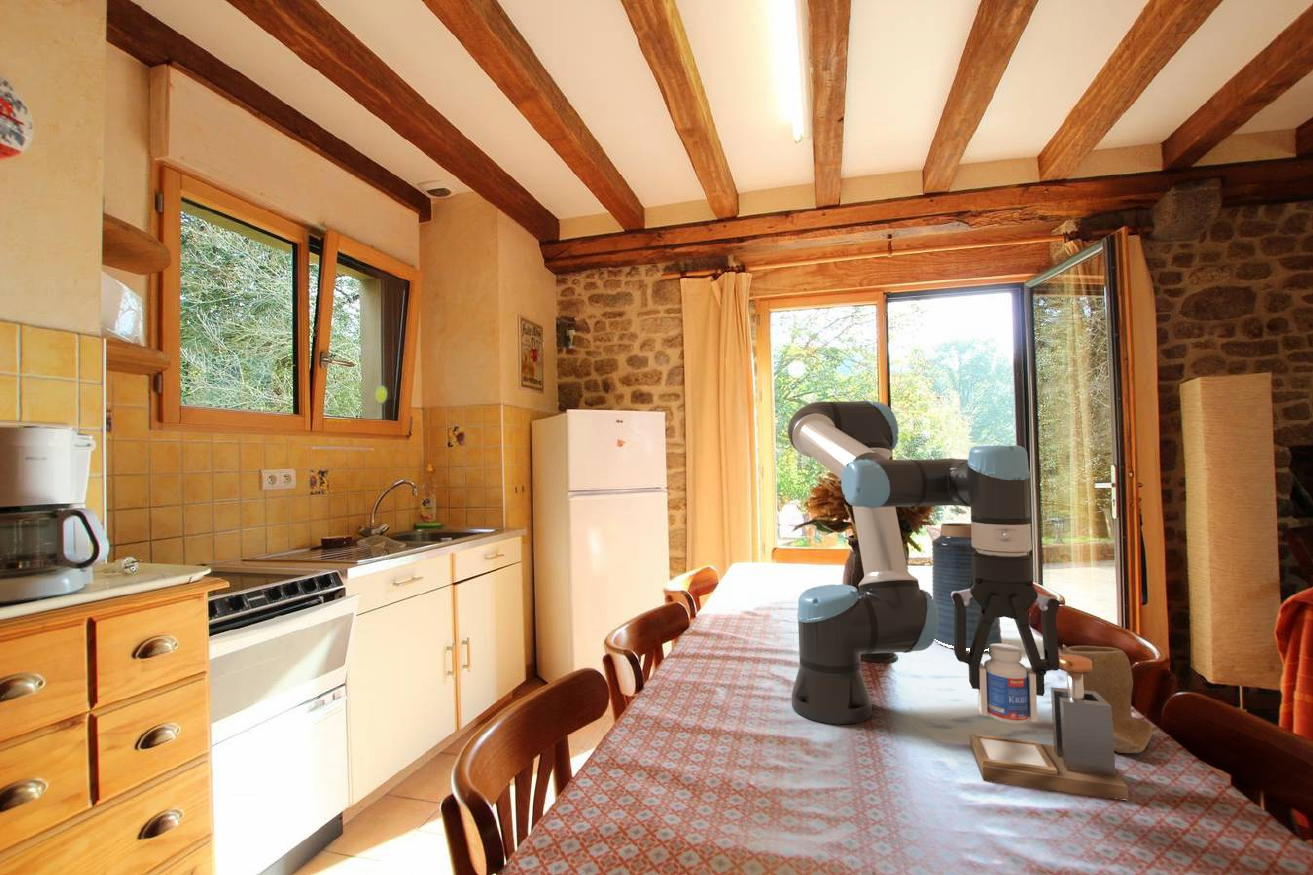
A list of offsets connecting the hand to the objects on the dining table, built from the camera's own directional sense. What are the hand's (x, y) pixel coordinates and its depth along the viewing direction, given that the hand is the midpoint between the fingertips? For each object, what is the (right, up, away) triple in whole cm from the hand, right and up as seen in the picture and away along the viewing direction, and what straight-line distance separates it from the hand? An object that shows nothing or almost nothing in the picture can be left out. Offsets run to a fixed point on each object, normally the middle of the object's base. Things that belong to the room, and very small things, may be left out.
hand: (1006, 713), depth 83 cm
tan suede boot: (+28, -13, +17) cm, 35 cm away
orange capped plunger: (+14, -6, +5) cm, 16 cm away
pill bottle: (0, -1, 0) cm, 1 cm away
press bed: (+9, -12, +6) cm, 16 cm away
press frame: (+14, -10, +5) cm, 18 cm away
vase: (+32, -16, +71) cm, 80 cm away
